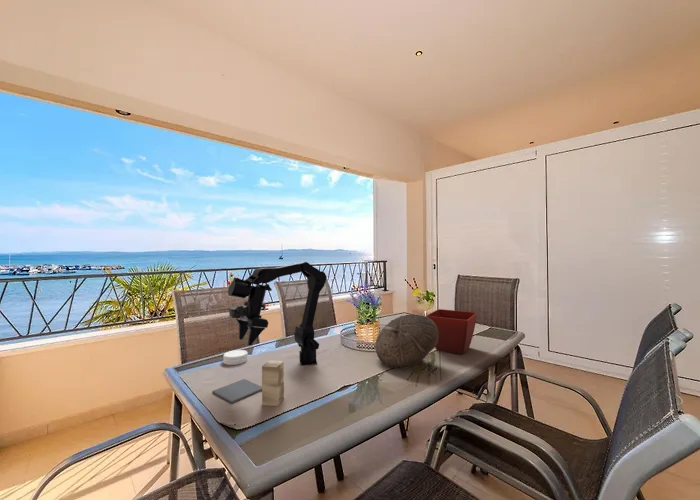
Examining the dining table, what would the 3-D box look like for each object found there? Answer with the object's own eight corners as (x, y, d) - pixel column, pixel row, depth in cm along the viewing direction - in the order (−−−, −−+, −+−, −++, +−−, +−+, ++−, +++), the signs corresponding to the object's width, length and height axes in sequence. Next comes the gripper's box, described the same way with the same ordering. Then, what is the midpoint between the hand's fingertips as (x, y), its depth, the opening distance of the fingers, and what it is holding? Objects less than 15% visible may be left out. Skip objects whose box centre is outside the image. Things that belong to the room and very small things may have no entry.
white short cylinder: (239, 366, 125) (239, 357, 125) (218, 364, 127) (218, 356, 127) (252, 357, 135) (252, 350, 135) (232, 356, 137) (232, 348, 137)
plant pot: (425, 350, 142) (425, 315, 142) (439, 340, 158) (438, 308, 158) (468, 358, 131) (467, 320, 131) (477, 346, 147) (477, 312, 147)
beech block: (269, 397, 98) (269, 360, 98) (283, 398, 97) (283, 361, 97) (262, 404, 93) (261, 366, 93) (277, 406, 92) (277, 367, 92)
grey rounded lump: (357, 362, 129) (366, 307, 139) (398, 373, 139) (404, 320, 149) (399, 365, 106) (406, 298, 117) (445, 377, 116) (448, 314, 126)
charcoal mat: (244, 380, 111) (244, 378, 111) (264, 389, 103) (264, 387, 103) (212, 392, 101) (212, 390, 101) (231, 403, 94) (231, 401, 94)
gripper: (226, 294, 116) (215, 334, 113) (243, 299, 102) (231, 346, 99) (253, 298, 123) (243, 337, 120) (273, 304, 108) (262, 349, 106)
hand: (244, 342), depth 111 cm, fingers open, 9 cm apart
